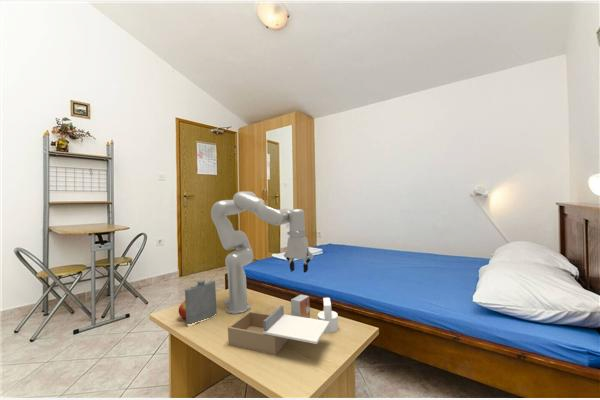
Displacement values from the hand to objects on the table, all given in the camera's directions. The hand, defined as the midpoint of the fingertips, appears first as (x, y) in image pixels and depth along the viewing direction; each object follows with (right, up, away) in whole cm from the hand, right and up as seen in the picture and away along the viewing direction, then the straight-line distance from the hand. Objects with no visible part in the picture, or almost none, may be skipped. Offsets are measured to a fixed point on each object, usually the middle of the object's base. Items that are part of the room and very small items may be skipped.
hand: (299, 270), depth 128 cm
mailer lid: (-1, -17, -23) cm, 29 cm away
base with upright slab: (+13, -24, -9) cm, 29 cm away
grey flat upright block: (-48, -26, +4) cm, 55 cm away
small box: (+1, -24, 0) cm, 24 cm away
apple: (-57, -26, +7) cm, 63 cm away
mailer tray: (-16, -25, -16) cm, 33 cm away
